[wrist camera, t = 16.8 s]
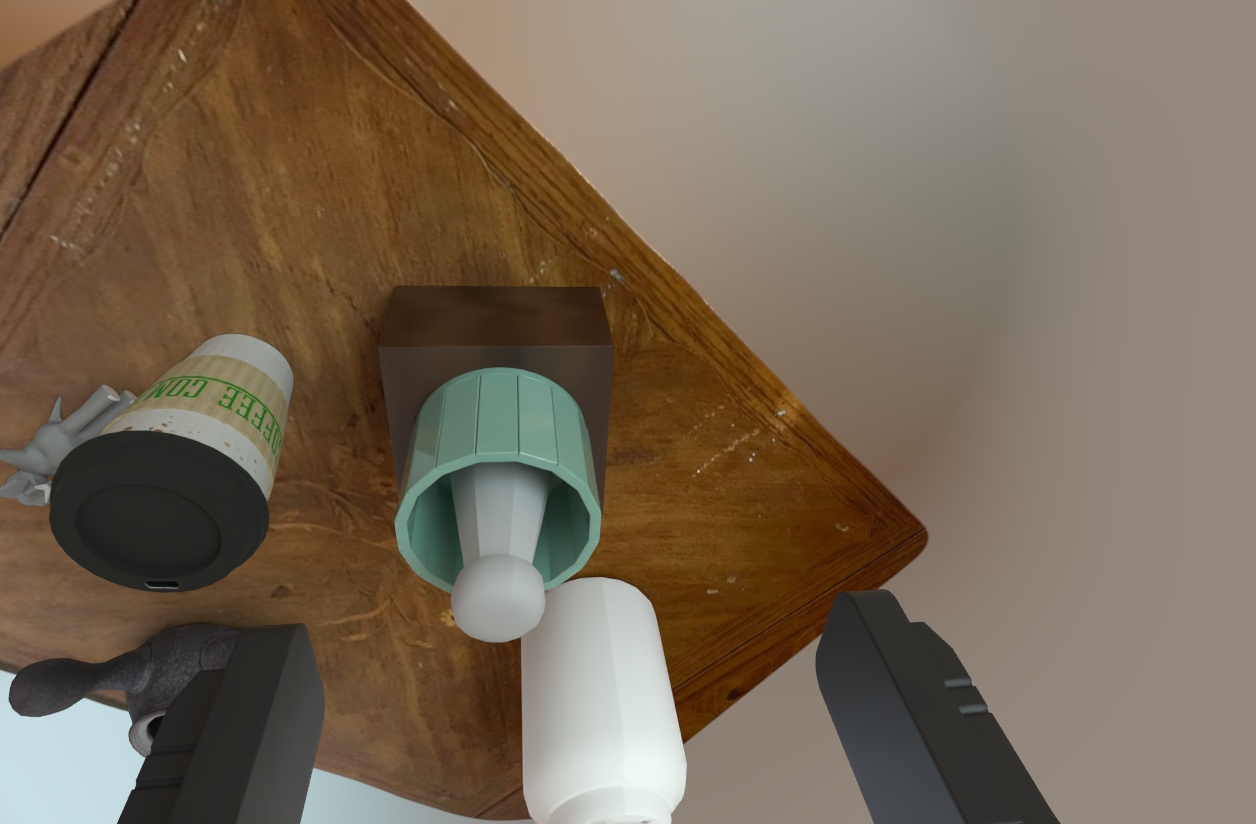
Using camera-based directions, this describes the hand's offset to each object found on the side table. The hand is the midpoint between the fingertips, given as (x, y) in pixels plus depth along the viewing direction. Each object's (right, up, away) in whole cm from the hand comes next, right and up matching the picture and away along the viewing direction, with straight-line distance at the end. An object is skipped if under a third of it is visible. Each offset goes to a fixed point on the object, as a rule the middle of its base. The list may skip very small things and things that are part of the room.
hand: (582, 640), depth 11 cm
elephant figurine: (-36, +3, +36) cm, 51 cm away
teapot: (-37, -16, +49) cm, 63 cm away
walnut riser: (-8, +6, +39) cm, 40 cm away
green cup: (-7, +2, +32) cm, 33 cm away
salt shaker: (-7, +2, +32) cm, 32 cm away
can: (-3, -16, +55) cm, 57 cm away
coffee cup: (-25, +6, +36) cm, 44 cm away
